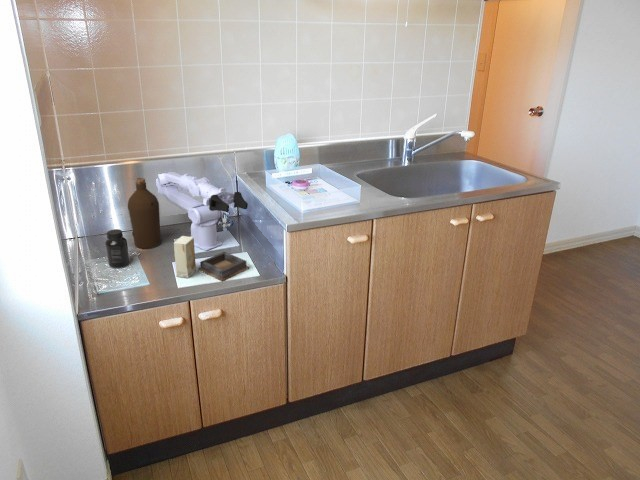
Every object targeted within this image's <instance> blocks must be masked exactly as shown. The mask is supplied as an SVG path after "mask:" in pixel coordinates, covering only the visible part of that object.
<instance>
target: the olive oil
mask: <svg viewBox="0 0 640 480" xmlns="http://www.w3.org/2000/svg"><path fill="white" fill-rule="evenodd" d="M135 186H136V187H135V188H136V189H135V191H134V192H133V193H132V194H131V196H130V197H129V198H128V201H127V210H128V215H129V216H128V217H129V219H130V225H131V226H130V227H131V231H132V237H133V241H134V242H133V244H134V246H135V247H136V248H138V249H142V250H143V249H145V250H147V249H155V248H156V247H158V246H160V245H161V244H162V235H161V221H160V220H161V219H160V218H161V216H160V203H159V200H158V198H157V196H156V195H154V193H152V192H151V191H150V190H148V189H147V183H146V179H145V177H138V178H135Z"/></svg>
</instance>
